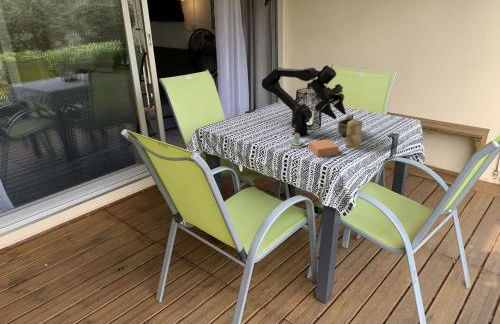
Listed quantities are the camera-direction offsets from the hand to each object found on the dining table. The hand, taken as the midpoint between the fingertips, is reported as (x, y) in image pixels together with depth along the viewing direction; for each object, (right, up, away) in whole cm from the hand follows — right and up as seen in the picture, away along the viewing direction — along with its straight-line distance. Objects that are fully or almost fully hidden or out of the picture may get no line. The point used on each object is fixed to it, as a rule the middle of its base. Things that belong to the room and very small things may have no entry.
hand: (340, 116), depth 172 cm
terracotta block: (-9, -17, -4) cm, 20 cm away
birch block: (+6, -14, +1) cm, 15 cm away
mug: (+7, -8, +17) cm, 20 cm away
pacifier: (-20, -14, +3) cm, 25 cm away
